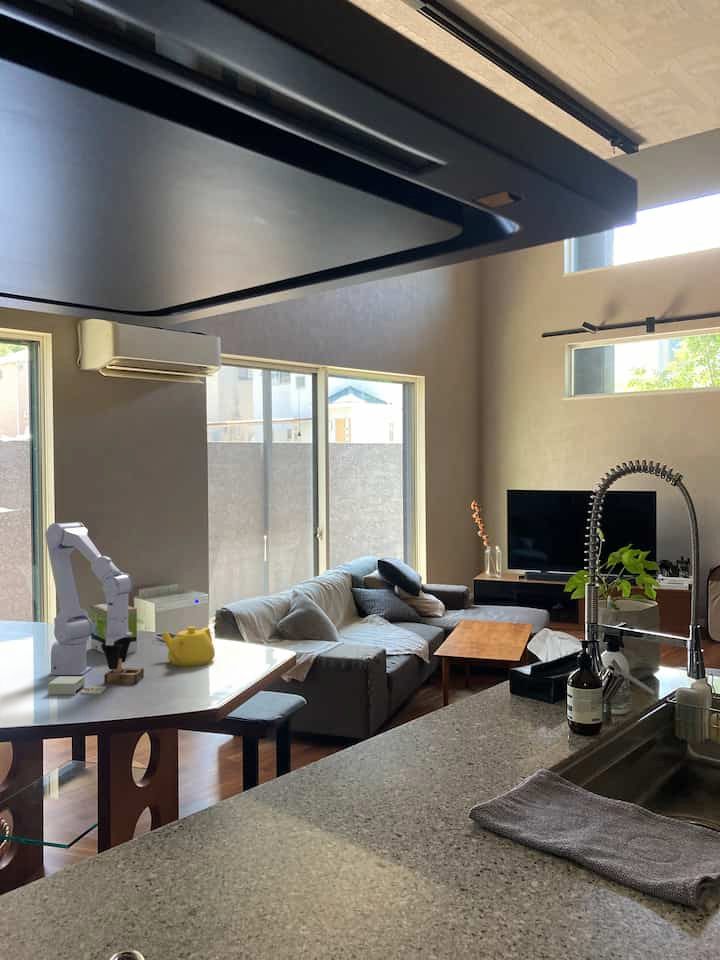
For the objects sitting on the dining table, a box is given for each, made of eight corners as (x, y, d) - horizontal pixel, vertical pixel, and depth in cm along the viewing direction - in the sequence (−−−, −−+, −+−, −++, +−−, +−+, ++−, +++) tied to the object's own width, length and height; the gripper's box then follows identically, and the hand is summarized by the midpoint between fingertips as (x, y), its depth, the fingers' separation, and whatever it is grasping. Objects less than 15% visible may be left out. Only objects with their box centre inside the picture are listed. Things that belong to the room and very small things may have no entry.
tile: (80, 693, 201) (80, 691, 201) (87, 688, 206) (87, 685, 206) (99, 693, 201) (99, 691, 201) (105, 688, 206) (105, 686, 206)
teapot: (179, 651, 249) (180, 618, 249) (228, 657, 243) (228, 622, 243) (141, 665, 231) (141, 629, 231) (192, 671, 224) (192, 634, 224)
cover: (48, 694, 200) (48, 683, 199) (58, 687, 206) (58, 676, 206) (75, 694, 200) (75, 683, 200) (84, 687, 207) (84, 676, 207)
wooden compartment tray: (104, 683, 211) (104, 674, 211) (112, 676, 218) (112, 668, 218) (136, 683, 211) (136, 674, 211) (143, 677, 218) (143, 668, 218)
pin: (111, 681, 213) (112, 660, 213) (113, 679, 215) (114, 658, 215) (120, 681, 213) (120, 660, 213) (122, 679, 215) (122, 658, 215)
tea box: (89, 648, 253) (89, 604, 253) (118, 644, 259) (118, 601, 259) (108, 657, 242) (108, 610, 241) (137, 652, 248) (138, 607, 248)
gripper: (124, 622, 207) (123, 672, 207) (139, 612, 221) (138, 659, 221) (98, 622, 207) (97, 671, 207) (114, 612, 221) (114, 658, 221)
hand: (117, 665), depth 214 cm, fingers open, 7 cm apart
